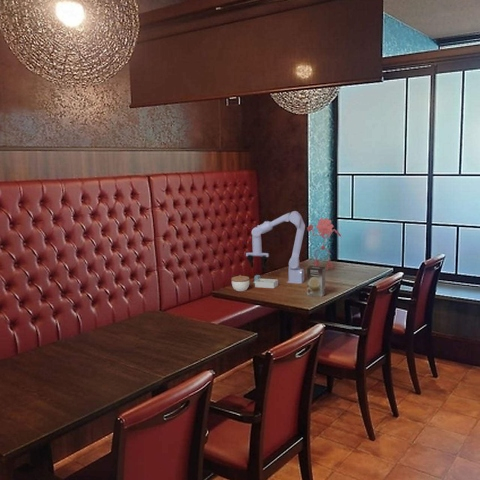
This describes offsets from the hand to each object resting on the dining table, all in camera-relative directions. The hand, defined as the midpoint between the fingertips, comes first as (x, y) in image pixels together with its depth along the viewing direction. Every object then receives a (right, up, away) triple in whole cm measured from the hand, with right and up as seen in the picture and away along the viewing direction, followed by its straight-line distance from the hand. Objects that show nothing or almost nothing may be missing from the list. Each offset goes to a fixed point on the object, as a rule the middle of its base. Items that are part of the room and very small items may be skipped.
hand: (257, 267), depth 330 cm
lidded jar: (-11, -13, -17) cm, 24 cm away
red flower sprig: (+48, -2, +35) cm, 59 cm away
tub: (+5, -11, -11) cm, 16 cm away
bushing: (+2, -10, -9) cm, 14 cm away
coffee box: (+32, -14, -31) cm, 47 cm away
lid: (+5, -10, 0) cm, 11 cm away
